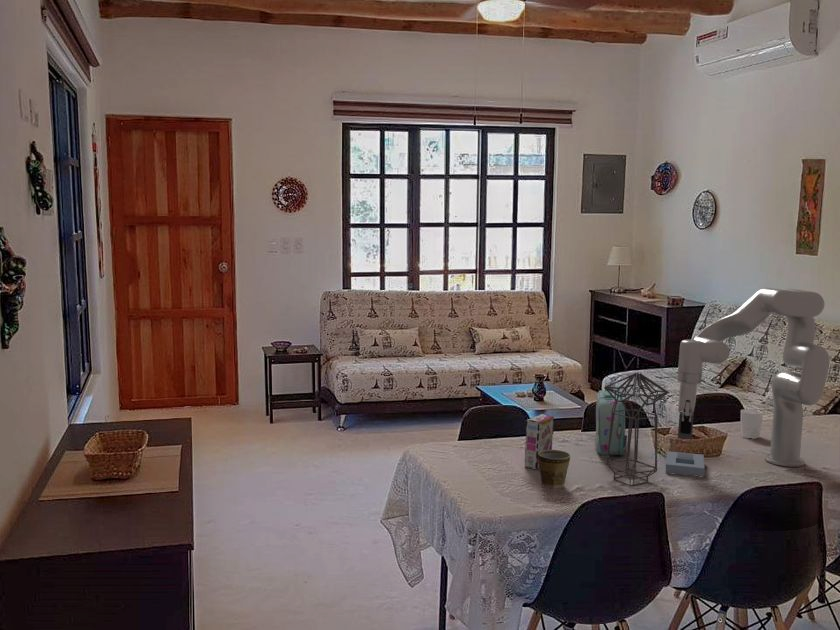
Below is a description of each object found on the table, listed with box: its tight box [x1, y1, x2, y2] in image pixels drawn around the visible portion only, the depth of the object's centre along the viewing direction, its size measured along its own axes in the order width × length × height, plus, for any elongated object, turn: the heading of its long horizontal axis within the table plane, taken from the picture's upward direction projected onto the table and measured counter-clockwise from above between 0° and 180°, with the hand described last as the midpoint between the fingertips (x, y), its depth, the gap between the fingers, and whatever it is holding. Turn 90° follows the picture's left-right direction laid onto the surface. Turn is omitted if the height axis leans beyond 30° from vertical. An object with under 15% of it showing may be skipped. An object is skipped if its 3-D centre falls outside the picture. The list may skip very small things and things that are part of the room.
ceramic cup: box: [538, 449, 571, 489], centre depth 255 cm, size 13×10×10 cm
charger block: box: [677, 411, 694, 441], centre depth 270 cm, size 4×4×8 cm
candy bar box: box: [524, 413, 555, 470], centre depth 274 cm, size 11×5×16 cm, turn 145°
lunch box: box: [594, 389, 628, 456], centre depth 294 cm, size 27×10×21 cm, turn 170°
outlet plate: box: [664, 451, 705, 477], centre depth 274 cm, size 16×12×3 cm
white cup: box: [740, 408, 764, 440], centre depth 314 cm, size 8×8×10 cm
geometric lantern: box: [603, 372, 670, 487], centre depth 259 cm, size 16×16×35 cm
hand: (685, 430), depth 270 cm, fingers closed on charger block, 4 cm apart
